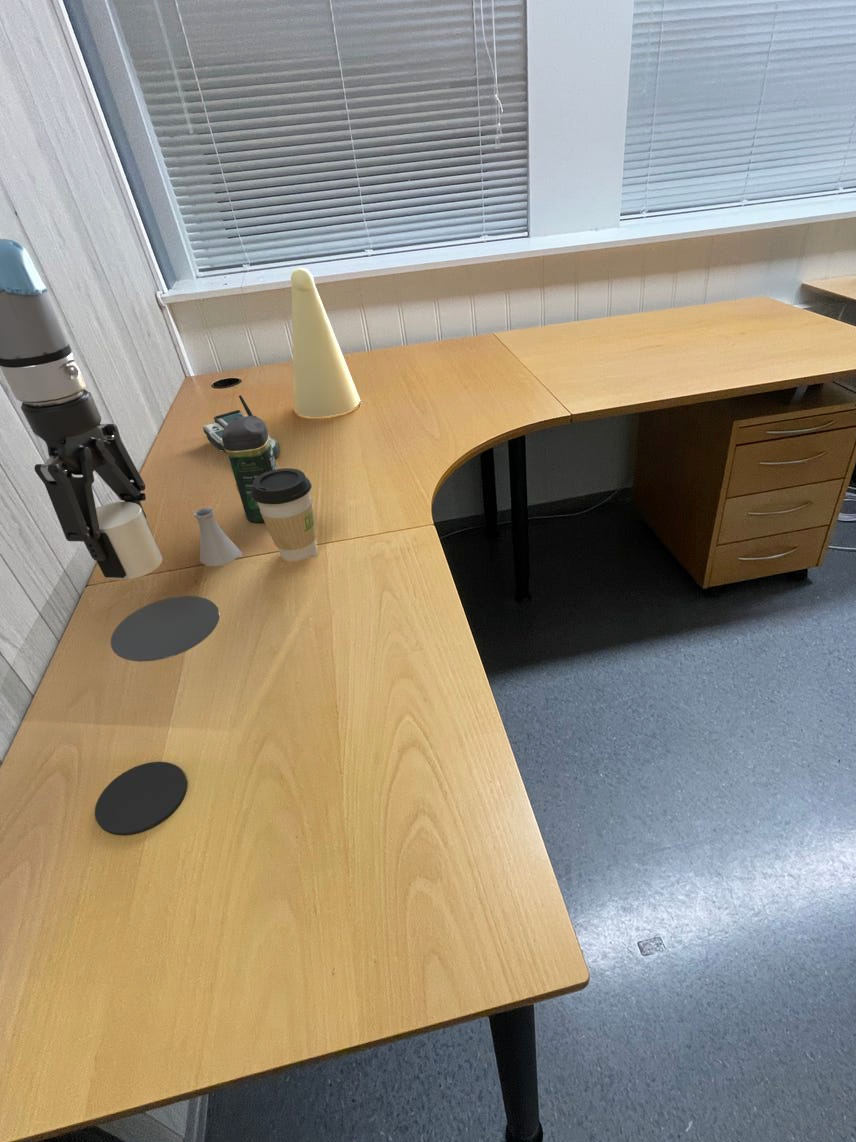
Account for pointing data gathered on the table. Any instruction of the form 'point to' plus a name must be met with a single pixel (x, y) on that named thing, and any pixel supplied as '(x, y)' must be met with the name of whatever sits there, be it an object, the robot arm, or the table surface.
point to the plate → (165, 628)
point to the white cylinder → (129, 538)
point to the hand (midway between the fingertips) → (131, 559)
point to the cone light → (317, 355)
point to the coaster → (140, 798)
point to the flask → (214, 540)
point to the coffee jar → (248, 458)
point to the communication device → (222, 421)
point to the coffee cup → (287, 511)
